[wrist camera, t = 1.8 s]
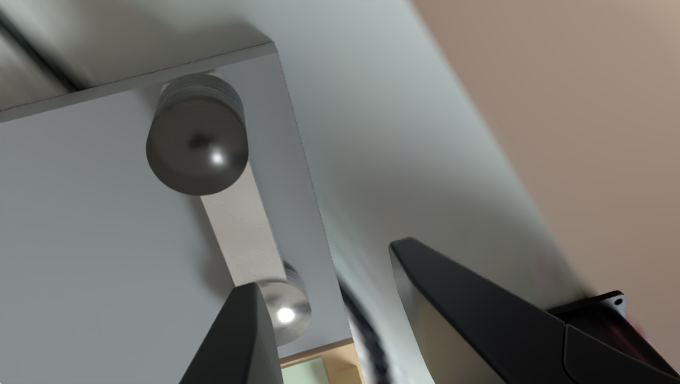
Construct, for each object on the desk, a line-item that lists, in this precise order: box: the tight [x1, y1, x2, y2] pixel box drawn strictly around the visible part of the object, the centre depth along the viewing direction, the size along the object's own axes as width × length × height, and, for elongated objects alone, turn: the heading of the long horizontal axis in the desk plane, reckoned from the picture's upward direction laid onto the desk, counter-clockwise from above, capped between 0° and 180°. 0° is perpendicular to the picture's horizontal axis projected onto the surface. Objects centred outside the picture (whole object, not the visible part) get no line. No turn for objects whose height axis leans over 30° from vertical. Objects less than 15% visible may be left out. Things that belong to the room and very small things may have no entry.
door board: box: [0, 42, 365, 384], centre depth 23 cm, size 15×22×4 cm
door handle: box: [146, 70, 312, 347], centre depth 19 cm, size 12×3×4 cm, turn 11°
